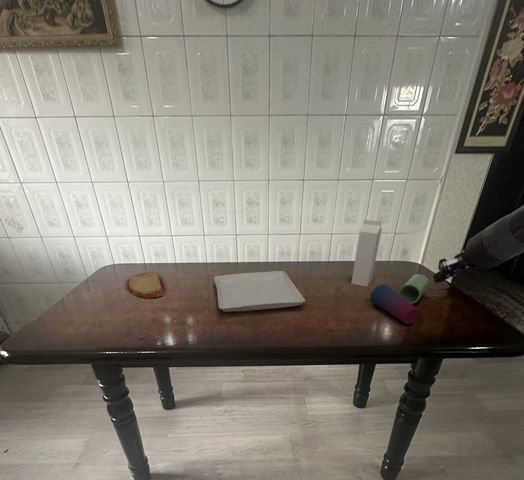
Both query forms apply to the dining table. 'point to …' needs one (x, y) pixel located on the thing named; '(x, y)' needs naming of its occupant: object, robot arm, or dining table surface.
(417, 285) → the green cup
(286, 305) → the square plate
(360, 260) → the milk
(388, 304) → the cup
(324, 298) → the dining table surface
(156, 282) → the bread slice
